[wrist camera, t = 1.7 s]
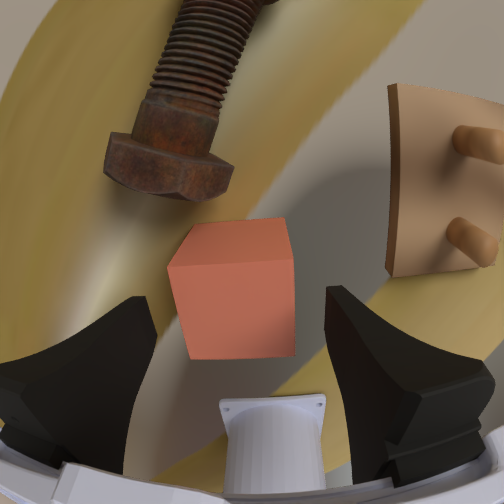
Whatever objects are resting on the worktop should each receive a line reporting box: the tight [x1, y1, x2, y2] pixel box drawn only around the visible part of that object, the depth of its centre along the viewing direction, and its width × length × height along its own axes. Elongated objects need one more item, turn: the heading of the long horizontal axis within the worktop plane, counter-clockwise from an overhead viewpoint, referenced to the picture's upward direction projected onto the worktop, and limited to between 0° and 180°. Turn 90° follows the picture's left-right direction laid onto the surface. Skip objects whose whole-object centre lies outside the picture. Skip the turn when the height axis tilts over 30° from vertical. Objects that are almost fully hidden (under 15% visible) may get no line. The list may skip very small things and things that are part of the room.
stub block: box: [385, 83, 504, 278], centre depth 12 cm, size 10×8×4 cm
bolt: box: [103, 0, 278, 202], centre depth 10 cm, size 6×5×15 cm
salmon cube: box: [167, 217, 295, 359], centre depth 14 cm, size 5×5×5 cm
